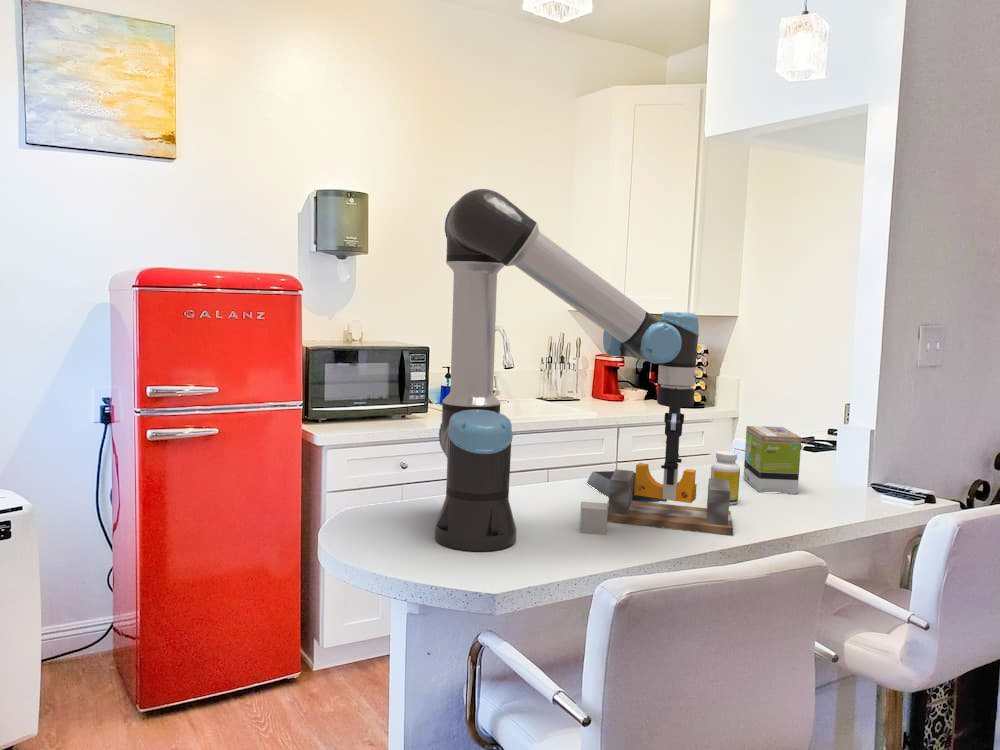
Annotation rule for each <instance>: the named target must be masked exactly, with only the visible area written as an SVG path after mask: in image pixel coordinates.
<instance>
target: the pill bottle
mask: <svg viewBox="0 0 1000 750" xmlns="http://www.w3.org/2000/svg"><path fill="white" fill-rule="evenodd" d="M715 459H716V461H715V462H713V463H712V464H711V467H710V478H712V479H722V480H728V481H729V487H730V503H729V506H732V505H735V504H737V503H738V501H739V490H740V477H741V467H740V466H739V465H738V464H737V463H736V461H737V460H738V453H736V452H734V451H726V450H725V451H724V450H718V451H716V452H715Z"/></svg>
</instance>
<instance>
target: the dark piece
mask: <svg viewBox="0 0 1000 750" xmlns="http://www.w3.org/2000/svg"><path fill="white" fill-rule="evenodd" d="M614 471H615V470H612V471H609V470H608V471H607V470H605V471H604V470H603V471H592V472H591V474H590V476H589V477H588V478H587V479H588V480H587V482H586V484H587V483H588V484H589V485H591V486H592V487H594V488H595V489H597V490H598V491H599V492H598V491H597V492H598V493H600V492H601V493H600V494H602V493H603V494H604V496H605V495H606V496H605V497H607V496H608V497H607V498H609V490H610V479H611V477H612V475H613V473H614ZM635 477H636V472H634V475H633V491H632V501H640V502H650V503H660V502H659V501H667V502H668V500H666V499H659V498H652V497H645V496H638V495H634V494H635ZM588 484H587V485H588ZM589 485H588V486H589ZM592 487H591V488H592ZM642 488H643V489H644V490H645V487H644V486H642ZM595 489H594V490H595ZM603 494H602V495H603Z"/></svg>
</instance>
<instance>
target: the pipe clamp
mask: <svg viewBox="0 0 1000 750" xmlns="http://www.w3.org/2000/svg"><path fill="white" fill-rule="evenodd" d="M649 467H650V466H649V463H642V462H639V463H637V464H636V465H635V473H636V477H635V494H634V495H638V496H645V497H652V498H659V499H662V497H663V484H661V483H660V482H659V481H657V480H656V479H655V478H654V477H653V476H652V474H651V472H650V469H649ZM696 471H697V470H696V469H690V468H686V469H685V470H683V471H682V477H681V479H680V480H679V481H677V488H676V500H672V501H674V502H680V503H681V502H682V503H688V504H692V503H693V502H694V501H695V500H696V498H697V486H698V485H697V483H696ZM642 486H644V487H645V490H644V489H643V488H642ZM666 500H667V499H666ZM667 501H668V500H667Z"/></svg>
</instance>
